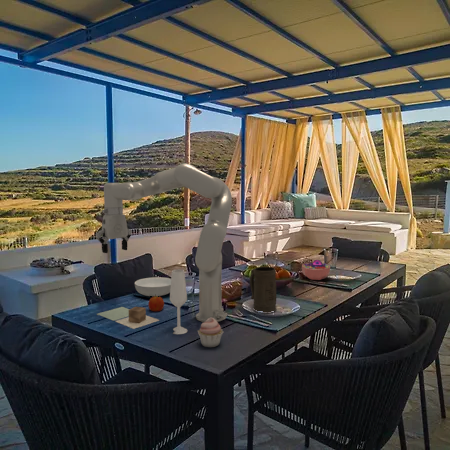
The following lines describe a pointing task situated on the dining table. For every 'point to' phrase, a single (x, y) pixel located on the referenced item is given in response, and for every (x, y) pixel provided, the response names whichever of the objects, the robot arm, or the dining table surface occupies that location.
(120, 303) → the dining table surface
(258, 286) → the beer stein
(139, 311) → the walnut block
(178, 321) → the champagne flute
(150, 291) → the serving bowl
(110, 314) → the pale sage mat
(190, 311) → the dining table surface
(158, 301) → the fruit
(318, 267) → the cell model
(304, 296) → the dining table surface
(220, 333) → the cupcake
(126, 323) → the cream mat
